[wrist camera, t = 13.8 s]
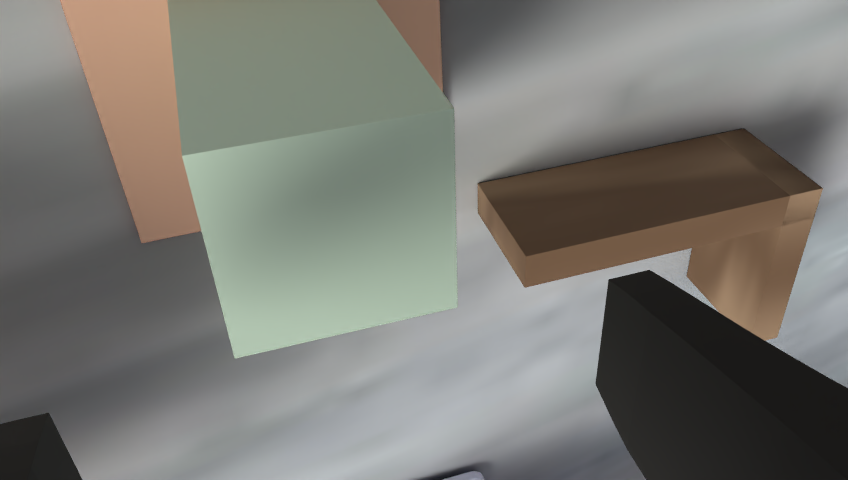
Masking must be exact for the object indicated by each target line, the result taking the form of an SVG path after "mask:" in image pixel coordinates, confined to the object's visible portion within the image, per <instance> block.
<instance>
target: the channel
mask: <svg viewBox="0 0 848 480" xmlns="http://www.w3.org/2000/svg"><path fill="white" fill-rule="evenodd" d="M822 190H823V188H822V187H821V186H819V185H818V184H817V183H815V182H814V181H813V180H811V179H810V178H809V177H807V176H806V175H805V174H803V173H802V172H801V171H799V170H798V169H797V168H795V167H794V166H793V165H792V164H790V163H789V162H788V161H786V160H785V159H784V158H782V157H781V156H780V155H778V154H777V153H776V152H774V151H773V150H772V149H770V148H769V147H768V146H766V145H765V144H764V143H763V142H761V141H760V140H759V139H757V138H756V137H755V136H753V135H752V134H751V133H749V132H748V131H747V130H745V129H739V130H734V131H729V132H724V133H720V134H715V135H710V136H705V137H700V138H695V139H691V140H686V141H681V142H676V143H671V144H667V145H662V146H657V147H652V148H647V149H642V150H638V151H633V152H628V153H623V154H618V155H613V156H609V157H604V158H599V159H594V160H589V161H584V162H580V163H575V164H570V165H565V166H560V167H555V168H551V169H546V170H541V171H536V172H531V173H527V174H522V175H517V176H512V177H507V178H502V179H498V180H493V181H488V182H483V183H478V214H479V215H480V217H481V219H482V220H483V222H484V223H485V225H486V226H487V228H488V230H489V231H490V233H491V234H492V236H493V238H494V239H495V241H496V242H497V244H498V246H499V247H500V249H501V250H502V252H503V254H504V255H505V257H506V258H507V260H508V262H509V263H510V265H511V266H512V268H513V270H514V271H515V273H516V274H517V276H518V278H519V279H520V281H521V282H522V284H523V286H524V287H529V286H534V285H538V284H542V283H546V282H550V281H555V280H559V279H563V278H567V277H571V276H576V275H580V274H584V273H588V272H592V271H597V270H601V269H605V268H609V267H613V266H618V265H622V264H626V263H630V262H634V261H639V260H643V259H647V258H651V257H655V256H660V255H664V254H668V253H672V252H676V251H681V250H685V249H689V248H692V251H691V256H690V261H689V266H688V272H687V277H688V278H689V279H690V281H691V282H692V283H693V284H694V285H695V286H696V287H697V288H698V289H699V290H700V292H701V293H702V294H703V295H704V296H705V297H706V298H707V299H708V300H709V302H710V303H711V304H712V305H713V306H714V307H715V308H716V309H717V310H718V311H719V313H721V314H722V315H724V316H725V317H727V318H729V319H730V320H732V321H733V322H735V323H737V324H738V325H740V326H742V327H743V328H745V329H746V330H748V331H750V332H751V333H753V334H755V335H756V336H758V337H760V338H761V339H763V340H764V341H765V340H769V339H773V338H776V337H777V336H778V333H779V329H780V326H781V323H782V320H783V316H784V313H785V310H786V307H787V303H788V300H789V297H790V294H791V290H792V287H793V284H794V281H795V277H796V274H797V271H798V268H799V264H800V261H801V258H802V255H803V251H804V248H805V245H806V242H807V238H808V235H809V232H810V229H811V225H812V222H813V219H814V216H815V212H816V209H817V206H818V203H819V199H820V196H821V193H822Z"/></svg>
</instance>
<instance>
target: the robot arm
mask: <svg viewBox="0 0 848 480" xmlns="http://www.w3.org/2000/svg"><path fill="white" fill-rule="evenodd" d="M596 386H597V388H598V390H599V392H600V394H601V397H602V399H603V401H604V403H605V405H606V407H607V410H608V412H609V414H610V416H611V418H612V420H613V422H614V424H615V426H616V428H617V430H618V432H619V434H620V436H621V438H622V440H623V442H624V444H625V446H626V448H627V450H628V451H629V453H630V455H631V456H632V458H633V459H634V461H635V462H636V464H637V466H638V467H639V469H640V470H641V472H642V473H643V475H644V477H645V478H646V480H848V388H846V387H844V386H843V385H841V384H839V383H837V382H835V381H833V380H832V379H830V378H828V377H826V376H824V375H823V374H821V373H819V372H817V371H816V370H814V369H812V368H810V367H809V366H807V365H805V364H803V363H802V362H800V361H798V360H796V359H795V358H793V357H791V356H790V355H788V354H786V353H785V352H783V351H781V350H780V349H778V348H776V347H775V346H773V345H771V344H769V343H768V342H766V341H764V340H763V339H761V338H760V337H758V336H756V335H755V334H753V333H751V332H750V331H748V330H746V329H745V328H743V327H742V326H740V325H738V324H737V323H735V322H733V321H732V320H730V319H729V318H727V317H725V316H724V315H722V314H721V313H719V312H717V311H716V310H714V309H713V308H711V307H709V306H708V305H706V304H705V303H703V302H701V301H700V300H698V299H697V298H695V297H693V296H692V295H690V294H689V293H687V292H685V291H684V290H682V289H680V288H679V287H677V286H676V285H674V284H672V283H671V282H669V281H667V280H666V279H664V278H662V277H661V276H659V275H657V274H655V273H654V272H652V271H650V270H647V271H643V272H639V273H634V274H630V275H626V276H622V277H618V278H613V279H609V281H608V289H607V297H606V305H605V313H604V321H603V329H602V337H601V345H600V353H599V361H598V369H597V377H596ZM0 480H82V478H81V476H80V474H79V472H78V470H77V468H76V466H75V464H74V462H73V460H72V458H71V456H70V454H69V452H68V450H67V448H66V446H65V444H64V442H63V440H62V438H61V436H60V434H59V432H58V430H57V428H56V426H55V424H54V422H53V420H52V418H51V416H50V414H49V413H45V414H41V415H37V416H33V417H29V418H24V419H20V420H16V421H12V422H8V423H3V424H0ZM442 480H484V478H483V475H482V474H481V473H480V472H477V471H471V472H467V473H464V474H460V475H457V476H453V477H449V478H446V479H442Z"/></svg>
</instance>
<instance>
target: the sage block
mask: <svg viewBox="0 0 848 480" xmlns="http://www.w3.org/2000/svg"><path fill="white" fill-rule="evenodd" d="M167 2H168V12H169V23H170V34H171V44H172V55H173V65H174V76H175V87H176V97H177V108H178V119H179V129H180V140H181V151H182V158H183V162H184V166H185V169H186V173H187V177H188V181H189V185H190V189H191V193H192V196H193V200H194V204H195V208H196V212H197V216H198V219H199V223H200V227H201V231H202V235H203V239H204V243H205V246H206V250H207V254H208V258H209V262H210V266H211V270H212V273H213V277H214V281H215V285H216V289H217V293H218V296H219V300H220V304H221V308H222V312H223V316H224V320H225V323H226V327H227V331H228V335H229V339H230V343H231V347H232V350H233V354H234V358H235V359H236V358H240V357H244V356H249V355H253V354H257V353H262V352H266V351H270V350H275V349H279V348H283V347H288V346H292V345H297V344H301V343H305V342H310V341H314V340H318V339H323V338H327V337H331V336H336V335H340V334H344V333H349V332H353V331H357V330H362V329H366V328H370V327H375V326H379V325H383V324H388V323H392V322H396V321H401V320H405V319H409V318H414V317H418V316H422V315H427V314H431V313H436V312H440V311H444V310H449V309H453V308H457V307H458V305H457V247H456V190H455V133H454V107H453V106H452V105H451V103H450V102H449V101H448V99H447V98H446V96H445V95H444V94H443V92H442V91H441V89H440V88H439V87H438V85H437V84H436V83H435V81H434V80H433V78H432V77H431V76H430V74H429V73H428V71H427V70H426V69H425V67H424V66H423V64H422V63H421V62H420V60H419V59H418V58H417V56H416V55H415V53H414V52H413V51H412V49H411V48H410V46H409V45H408V44H407V42H406V41H405V40H404V38H403V37H402V35H401V34H400V33H399V31H398V30H397V28H396V27H395V26H394V24H393V23H392V22H391V20H390V19H389V17H388V16H387V15H386V13H385V12H384V10H383V9H382V8H381V6H380V5H379V3H378V2H377V1H376V0H167Z"/></svg>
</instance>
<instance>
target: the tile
mask: <svg viewBox="0 0 848 480" xmlns="http://www.w3.org/2000/svg"><path fill="white" fill-rule="evenodd" d="M376 1H377V2H378V3H379V5H380V6H381V8H382V9H383V10H384V12H385V13H386V15H387V16H388V17H389V19H390V20H391V22H392V23H393V24H394V26H395V27H396V28H397V30H398V31H399V33H400V34H401V35H402V37H403V38H404V40H405V41H406V42H407V44H408V45H409V46H410V48H411V49H412V51H413V52H414V53H415V55H416V56H417V58H418V59H419V60H420V62H421V63H422V64H423V66H424V67H425V69H426V70H427V71H428V73H429V74H430V76H431V77H432V78H433V80H434V81H435V83H436V84H437V85H438V87H439V88H440V89H441V91H442V92H443V81H442V55H441V29H440V3H439V0H376ZM60 2H61V5H62V8H63V11H64V14H65V17H66V20H67V23H68V26H69V29H70V32H71V35H72V38H73V40H74V43H75V46H76V49H77V52H78V55H79V58H80V61H81V64H82V67H83V70H84V73H85V76H86V79H87V82H88V85H89V88H90V91H91V94H92V97H93V100H94V103H95V106H96V109H97V112H98V115H99V118H100V121H101V124H102V127H103V130H104V133H105V136H106V139H107V142H108V145H109V148H110V151H111V154H112V157H113V159H114V162H115V165H116V168H117V171H118V174H119V177H120V180H121V183H122V186H123V189H124V192H125V195H126V198H127V201H128V204H129V207H130V210H131V213H132V216H133V219H134V222H135V225H136V228H137V231H138V234H139V237H140V240H141V243H146V242H151V241H156V240H160V239H165V238H170V237H175V236H180V235H185V234H190V233H195V232H200V231H201V227H200V223H199V219H198V216H197V212H196V208H195V204H194V200H193V196H192V193H191V189H190V185H189V181H188V177H187V173H186V169H185V166H184V162H183V158H182V151H181V140H180V129H179V119H178V108H177V97H176V87H175V76H174V65H173V55H172V44H171V34H170V23H169V12H168V2H167V0H60Z"/></svg>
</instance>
